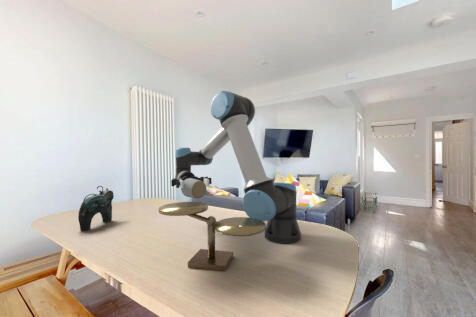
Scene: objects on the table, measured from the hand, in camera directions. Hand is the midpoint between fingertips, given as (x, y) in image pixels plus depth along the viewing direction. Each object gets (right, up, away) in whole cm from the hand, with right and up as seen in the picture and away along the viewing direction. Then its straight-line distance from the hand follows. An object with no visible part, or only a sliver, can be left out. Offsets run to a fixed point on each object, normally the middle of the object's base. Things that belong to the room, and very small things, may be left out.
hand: (195, 183), depth 83 cm
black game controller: (-56, -25, +29) cm, 67 cm away
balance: (+8, -24, -12) cm, 28 cm away
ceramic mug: (-1, -6, +5) cm, 8 cm away
